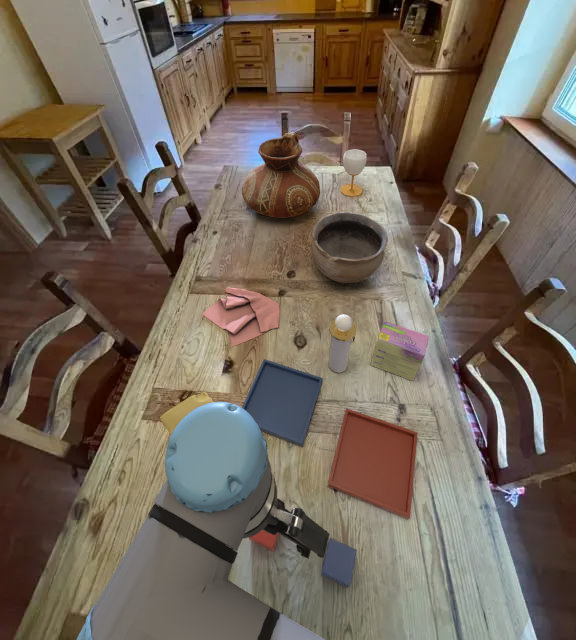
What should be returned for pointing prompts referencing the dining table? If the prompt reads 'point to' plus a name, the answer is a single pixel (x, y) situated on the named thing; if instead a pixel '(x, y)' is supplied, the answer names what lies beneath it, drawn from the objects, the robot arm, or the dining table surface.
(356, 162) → the cup
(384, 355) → the box
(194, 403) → the cheese
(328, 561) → the blue block
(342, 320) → the perfume bottle
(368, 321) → the dining table surface
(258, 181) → the jug
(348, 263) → the ceramic bowl
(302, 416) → the blue tray
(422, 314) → the dining table surface
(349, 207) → the dining table surface
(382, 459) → the red tray
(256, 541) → the red block
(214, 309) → the cloth
